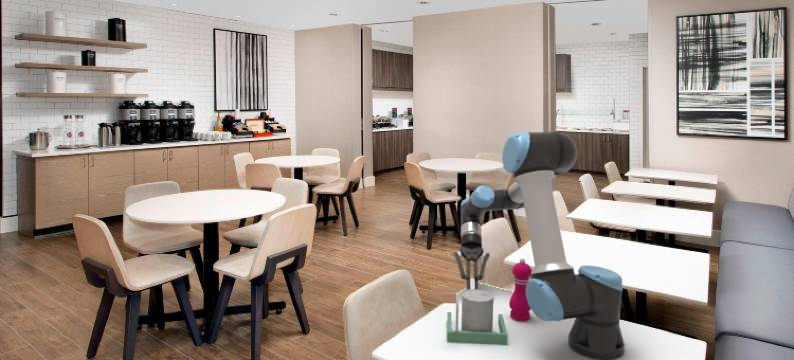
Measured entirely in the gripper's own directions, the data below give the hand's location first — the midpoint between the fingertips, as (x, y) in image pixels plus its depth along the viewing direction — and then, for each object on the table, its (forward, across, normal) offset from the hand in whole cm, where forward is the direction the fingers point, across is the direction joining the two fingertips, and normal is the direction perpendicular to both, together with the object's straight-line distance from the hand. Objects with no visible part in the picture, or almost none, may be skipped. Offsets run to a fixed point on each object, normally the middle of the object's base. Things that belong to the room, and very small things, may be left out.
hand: (472, 297), depth 175 cm
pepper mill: (+7, -15, +2) cm, 17 cm away
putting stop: (+16, +1, +11) cm, 19 cm away
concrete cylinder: (+16, 0, +12) cm, 20 cm away
